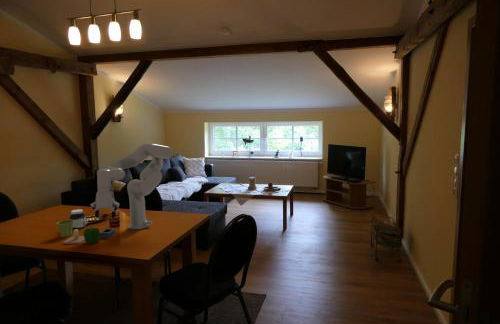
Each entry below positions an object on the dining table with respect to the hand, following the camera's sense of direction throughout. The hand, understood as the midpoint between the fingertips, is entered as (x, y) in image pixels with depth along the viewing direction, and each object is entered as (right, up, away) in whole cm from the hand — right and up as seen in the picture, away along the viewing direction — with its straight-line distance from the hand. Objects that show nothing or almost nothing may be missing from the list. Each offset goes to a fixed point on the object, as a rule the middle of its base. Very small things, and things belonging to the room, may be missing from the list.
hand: (105, 217), depth 198 cm
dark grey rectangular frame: (+1, -12, +2) cm, 12 cm away
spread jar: (-27, -10, +19) cm, 35 cm away
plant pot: (-25, -12, +3) cm, 28 cm away
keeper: (-14, -13, -6) cm, 20 cm away
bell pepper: (-4, -13, -9) cm, 16 cm away
